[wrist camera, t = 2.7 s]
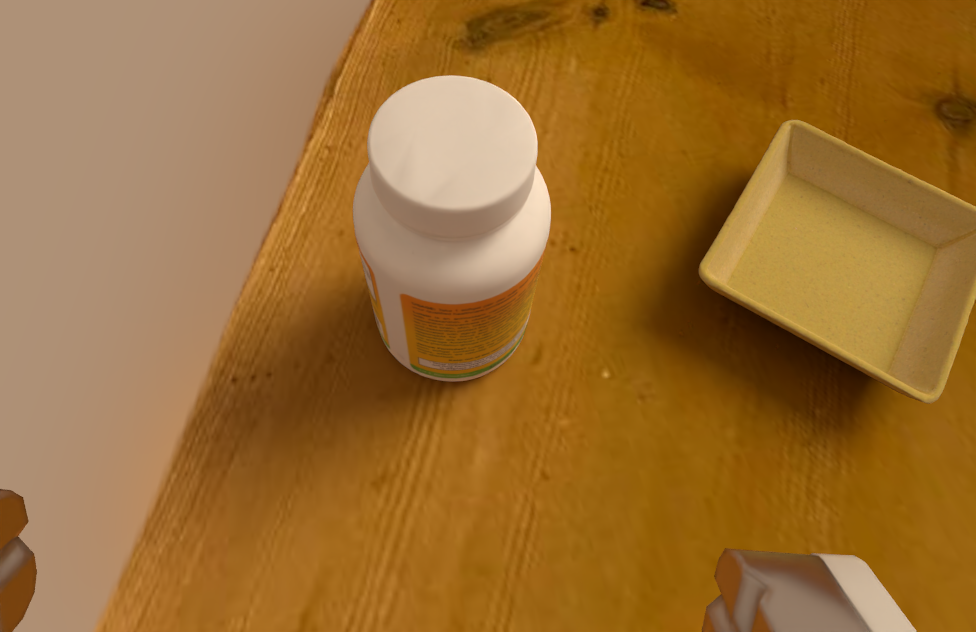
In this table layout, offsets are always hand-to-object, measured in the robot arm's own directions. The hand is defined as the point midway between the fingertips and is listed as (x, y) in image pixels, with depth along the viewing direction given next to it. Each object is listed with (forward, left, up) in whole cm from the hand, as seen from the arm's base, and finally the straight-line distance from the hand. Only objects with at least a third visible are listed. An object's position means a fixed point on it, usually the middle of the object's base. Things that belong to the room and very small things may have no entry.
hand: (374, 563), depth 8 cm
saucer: (+14, +13, -14) cm, 24 cm away
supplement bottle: (0, +10, -14) cm, 17 cm away
